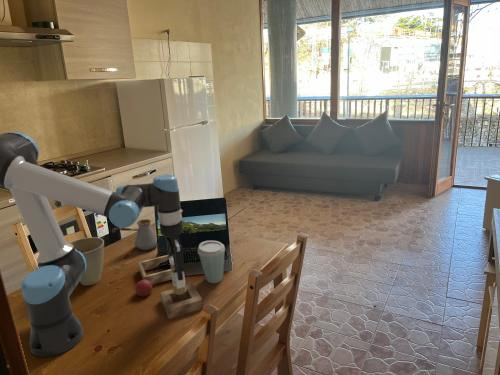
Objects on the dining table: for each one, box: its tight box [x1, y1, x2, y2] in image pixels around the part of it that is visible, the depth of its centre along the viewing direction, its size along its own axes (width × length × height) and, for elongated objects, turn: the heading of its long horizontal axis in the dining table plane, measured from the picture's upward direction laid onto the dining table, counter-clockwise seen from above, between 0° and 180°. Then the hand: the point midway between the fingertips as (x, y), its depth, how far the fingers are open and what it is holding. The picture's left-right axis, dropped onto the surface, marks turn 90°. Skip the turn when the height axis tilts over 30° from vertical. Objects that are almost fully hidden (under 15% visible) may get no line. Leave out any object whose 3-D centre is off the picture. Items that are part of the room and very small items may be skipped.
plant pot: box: [68, 236, 105, 287], centre depth 154 cm, size 15×15×16 cm
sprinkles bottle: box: [169, 255, 187, 295], centre depth 133 cm, size 5×5×13 cm
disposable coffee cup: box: [197, 240, 226, 284], centre depth 149 cm, size 11×11×15 cm
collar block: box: [159, 283, 204, 320], centre depth 136 cm, size 12×12×4 cm
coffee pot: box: [111, 218, 158, 251], centre depth 178 cm, size 21×12×15 cm, turn 137°
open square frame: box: [137, 254, 172, 286], centre depth 158 cm, size 14×14×4 cm
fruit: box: [134, 279, 153, 298], centre depth 143 cm, size 6×6×8 cm
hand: (179, 283), depth 134 cm, fingers closed on sprinkles bottle, 4 cm apart
